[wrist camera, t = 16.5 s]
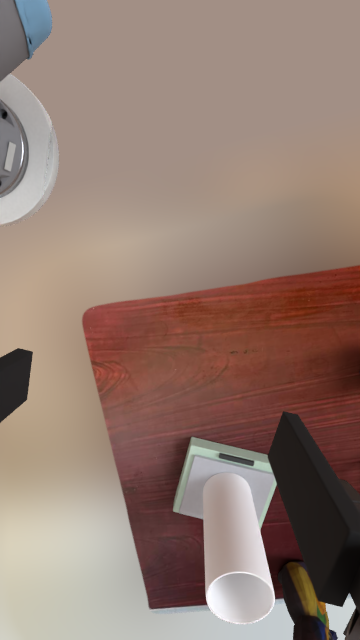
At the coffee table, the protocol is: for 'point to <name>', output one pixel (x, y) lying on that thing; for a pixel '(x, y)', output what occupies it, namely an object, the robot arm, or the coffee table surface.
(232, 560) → the cup
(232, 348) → the coffee table surface
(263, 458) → the scale
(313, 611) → the figurine
